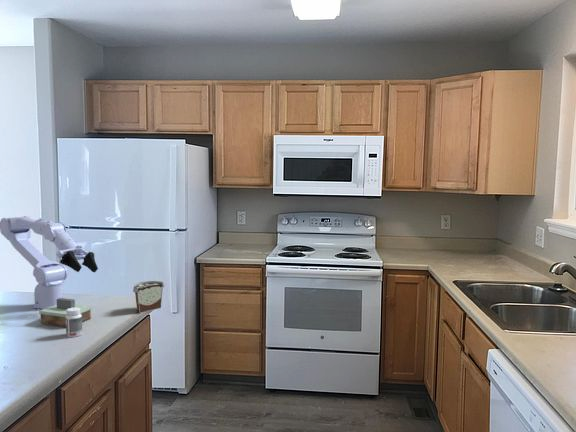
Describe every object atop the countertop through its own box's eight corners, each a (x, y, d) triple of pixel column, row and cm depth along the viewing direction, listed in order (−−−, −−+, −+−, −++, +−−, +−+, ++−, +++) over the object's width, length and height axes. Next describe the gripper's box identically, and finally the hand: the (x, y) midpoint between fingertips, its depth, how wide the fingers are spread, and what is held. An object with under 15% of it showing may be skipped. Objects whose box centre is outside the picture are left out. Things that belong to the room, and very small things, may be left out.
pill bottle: (85, 333, 154) (85, 307, 153) (75, 338, 150) (74, 311, 149) (73, 331, 155) (72, 306, 155) (62, 336, 151) (61, 310, 150)
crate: (40, 323, 163) (40, 313, 162) (62, 315, 172) (62, 305, 172) (70, 327, 159) (69, 317, 159) (90, 318, 169) (90, 309, 168)
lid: (39, 313, 162) (38, 301, 162) (62, 305, 172) (62, 293, 172) (69, 317, 158) (69, 305, 158) (91, 309, 168) (91, 297, 168)
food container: (154, 304, 188) (154, 279, 187) (164, 307, 184) (164, 281, 183) (126, 311, 179) (126, 284, 178) (136, 314, 175) (135, 287, 174)
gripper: (56, 235, 167) (77, 260, 162) (88, 239, 181) (108, 262, 176) (46, 251, 168) (66, 276, 163) (78, 253, 182) (98, 276, 176)
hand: (87, 270), depth 169 cm, fingers open, 7 cm apart
